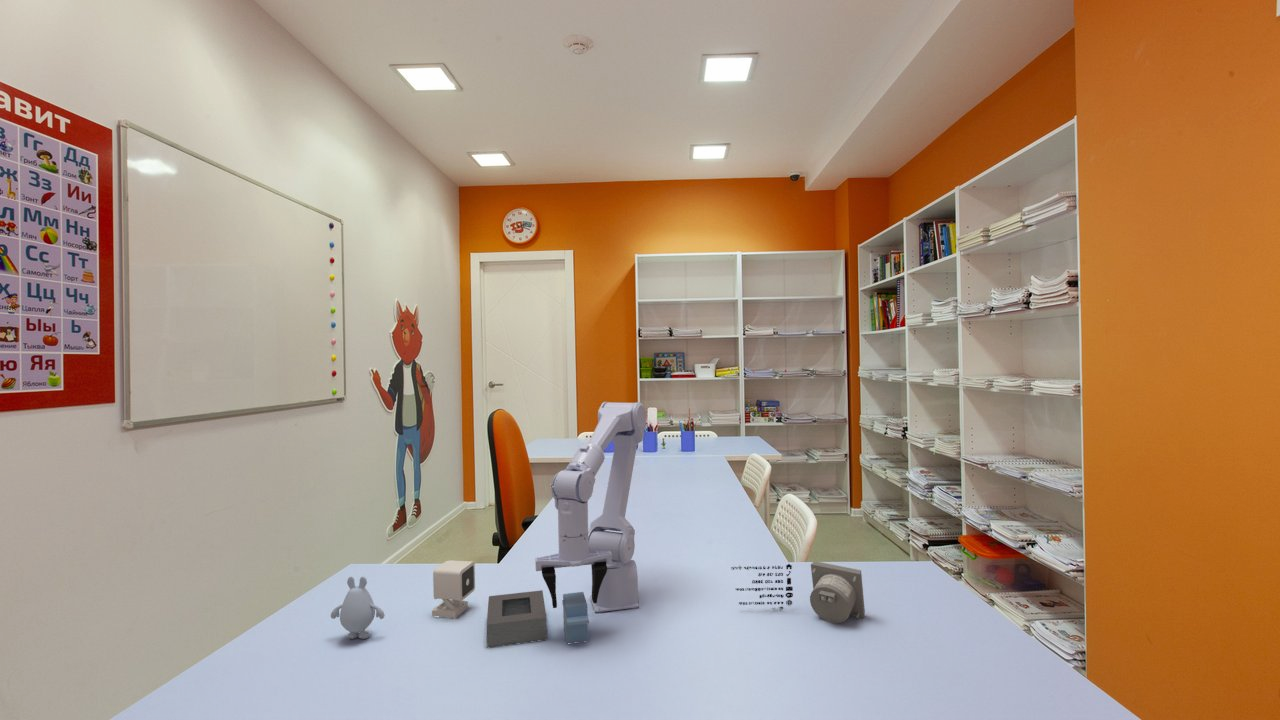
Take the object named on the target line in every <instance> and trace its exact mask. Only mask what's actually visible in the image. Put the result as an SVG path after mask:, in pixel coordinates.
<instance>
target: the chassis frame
mask: <svg viewBox="0 0 1280 720" xmlns="http://www.w3.org/2000/svg"><path fill="white" fill-rule="evenodd" d="M487 601H488V603H487V612H486V613H487V615H486V648H487V649H489V648H488V647H490V648H496V647H495V646H497V647H504V646H503V645H505V646H511V645H510V644H513V645H518V644H517V643H520V644H525V643H524V642H528V643H532V642H531V641H536V642H539V641H538V640H543V641H546V640H545V639H547V640H548V629H547V627H548V625H547V623H548V621H547V620H548V619H547V612H546V605H545V599H544V592H543V589H542V590H541V589H540V590H532V591H523V592H514V593H506V594H498V595H489V596H488V600H487Z"/></svg>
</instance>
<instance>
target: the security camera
mask: <svg viewBox="0 0 1280 720" xmlns="http://www.w3.org/2000/svg"><path fill="white" fill-rule="evenodd" d="M475 568H476V566H475V561H470V560H469V561H467V560H464V561H463V560H452V559H451V560H445V561H444V562H443V563H442V564H440V565H438V566H437V567H436V568H434V569H433V572H432V582H433V583H432V585H433V586H432V587H433V599H434V600H438V599H439V600H442V602H441V603H439V605H437V606H435V607H434V608H433V609H432V610H431V617H432V616H439V617H438V618H443V617H447V618H446V619H457V618H458V617H459V616H460V615H462V613H463V612H465V609H466V608H467V607H468V608H469V601H467V600H465V599H466V598H467V597H468V596H470V595H471V594H472V593H473V592H475V589H476V570H475ZM468 608H467V609H468ZM467 609H466V610H467ZM458 615H459V616H458ZM457 616H458V617H457ZM456 617H457V618H456Z"/></svg>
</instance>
